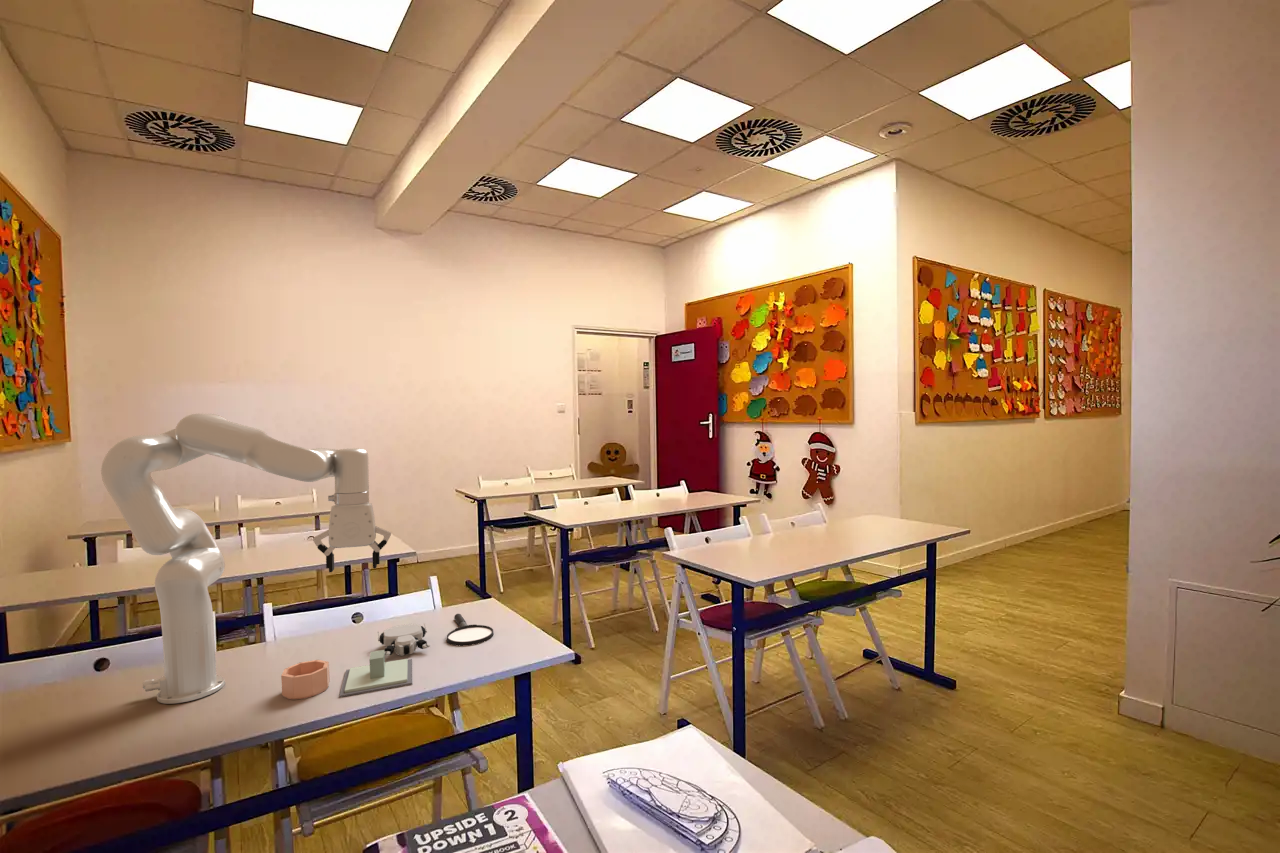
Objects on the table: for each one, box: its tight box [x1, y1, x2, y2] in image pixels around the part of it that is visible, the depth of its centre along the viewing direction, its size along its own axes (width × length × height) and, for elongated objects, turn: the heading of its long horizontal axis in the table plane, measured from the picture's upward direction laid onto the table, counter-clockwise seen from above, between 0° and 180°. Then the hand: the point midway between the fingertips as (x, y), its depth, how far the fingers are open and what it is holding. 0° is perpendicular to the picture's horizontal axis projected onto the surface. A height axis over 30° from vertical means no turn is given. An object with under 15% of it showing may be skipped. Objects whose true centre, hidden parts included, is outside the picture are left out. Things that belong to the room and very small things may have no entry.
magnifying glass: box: [446, 613, 494, 647], centre depth 174 cm, size 12×24×2 cm, turn 27°
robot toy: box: [377, 622, 431, 657], centre depth 162 cm, size 12×4×15 cm
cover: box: [345, 649, 408, 693], centre depth 144 cm, size 13×13×5 cm
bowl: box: [280, 659, 331, 700], centre depth 139 cm, size 9×9×5 cm
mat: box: [339, 658, 413, 698], centre depth 144 cm, size 15×15×1 cm
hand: (353, 569), depth 149 cm, fingers open, 9 cm apart
